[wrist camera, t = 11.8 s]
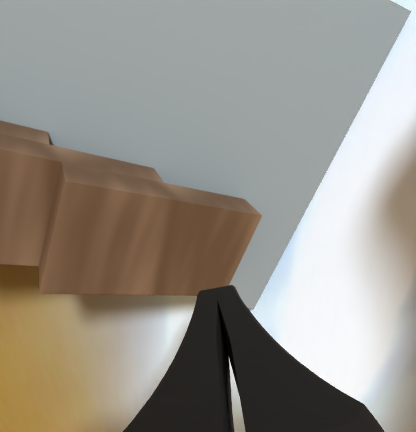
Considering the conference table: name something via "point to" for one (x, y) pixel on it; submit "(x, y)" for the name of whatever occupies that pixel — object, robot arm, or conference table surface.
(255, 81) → the slate mat
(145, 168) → the domino
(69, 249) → the domino
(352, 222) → the conference table surface
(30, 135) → the domino
